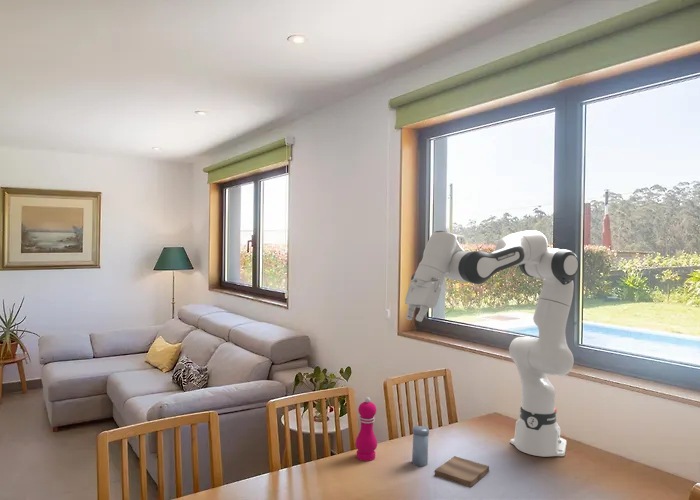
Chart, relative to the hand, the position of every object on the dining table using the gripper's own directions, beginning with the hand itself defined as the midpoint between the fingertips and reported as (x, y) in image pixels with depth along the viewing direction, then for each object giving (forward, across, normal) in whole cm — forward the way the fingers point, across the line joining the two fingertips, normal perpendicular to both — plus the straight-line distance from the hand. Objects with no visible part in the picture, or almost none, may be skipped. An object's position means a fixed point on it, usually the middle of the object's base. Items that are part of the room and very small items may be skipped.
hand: (413, 320), depth 159 cm
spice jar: (+41, +13, -23) cm, 49 cm away
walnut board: (+38, +4, -34) cm, 51 cm away
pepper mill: (+47, +20, -8) cm, 51 cm away
